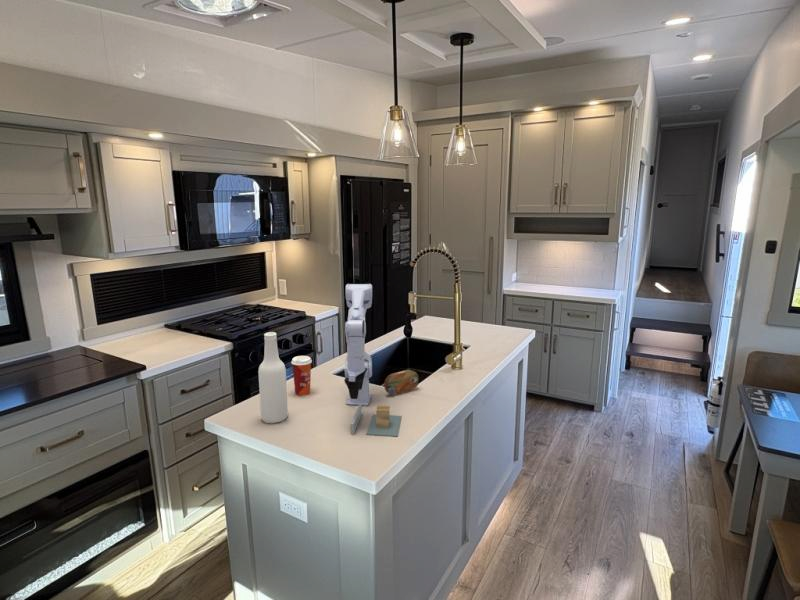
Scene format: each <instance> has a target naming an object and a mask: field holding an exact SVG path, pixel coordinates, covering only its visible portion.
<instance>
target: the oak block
mask: <svg viewBox="0 0 800 600" xmlns="http://www.w3.org/2000/svg"><path fill="white" fill-rule="evenodd" d="M375 411H376V412H375V414H376V427H386V428H389V415H390V404H377V406H376V410H375Z"/></svg>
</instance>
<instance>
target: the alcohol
mask: <svg viewBox="0 0 800 600" xmlns="http://www.w3.org/2000/svg"><path fill="white" fill-rule="evenodd" d="M277 335H278V334H277V332H275V331H269V332H266V333H264V334H263V336H264V337H263V339H264V352H263V353H264V355H263V361H262V362H261V363H260V364H259V366H258V371H257V373H258V388H259V403H260V404H259V405H260V419H261V420H262V421H263V422H264V423H266V422H267V423H266V424H278V423H277V422H279V423H281V421H282V422H284V421H285V420H286V419H287V418H288V415H289V413H288V411H289V410H288V391H287V390H288V388H287V369H286V366H285V363H284V362H283V361H282V360H281V359H280V357H279V348H278V342H277V338H278V336H277ZM283 420H284V421H283Z"/></svg>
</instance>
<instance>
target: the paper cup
mask: <svg viewBox="0 0 800 600" xmlns="http://www.w3.org/2000/svg"><path fill="white" fill-rule="evenodd" d="M290 363H291V365H292V374H293V382H294V383H293V384H294V391H295V395H297V396H303V395H304V396H308V395H309V394H310V393H311V380H312V379H311V377H312V376H311V374H312V373H311V372H312V370H311V369H312V363H313V360H312V358H311V357H310V356H308V355H297V356H294V357H293V358H292V360H291V362H290Z"/></svg>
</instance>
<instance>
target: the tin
mask: <svg viewBox="0 0 800 600" xmlns="http://www.w3.org/2000/svg"><path fill="white" fill-rule="evenodd" d="M419 381H420V377H419V375H418V373H417V372H416V371H415V370H411V369H406V370H402V371H398V372H393V373H390V374H389V375H387V377H386V378H385V379H384V384H383V387H384V389H385V392H386V393H387V394H389V395H391V396H393V397H395V396H400V395H403V394H407V393H409V392H412V391H414V390H415V389H417V387H418V385H419Z"/></svg>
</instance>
